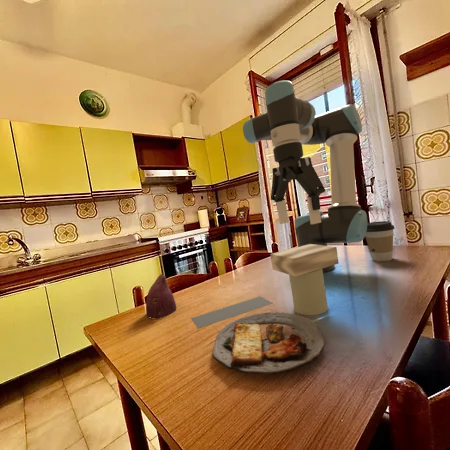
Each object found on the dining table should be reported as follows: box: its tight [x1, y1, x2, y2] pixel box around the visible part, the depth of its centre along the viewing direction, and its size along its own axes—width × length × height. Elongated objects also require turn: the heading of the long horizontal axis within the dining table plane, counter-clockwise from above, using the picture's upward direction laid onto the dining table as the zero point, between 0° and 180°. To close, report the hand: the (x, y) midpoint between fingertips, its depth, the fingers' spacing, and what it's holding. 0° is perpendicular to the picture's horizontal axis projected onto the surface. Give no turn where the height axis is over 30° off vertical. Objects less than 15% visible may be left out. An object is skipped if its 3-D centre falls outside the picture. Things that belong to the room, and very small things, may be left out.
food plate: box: [212, 311, 325, 375], centre depth 58 cm, size 25×23×4 cm
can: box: [288, 269, 329, 316], centre depth 71 cm, size 9×9×12 cm
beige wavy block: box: [269, 244, 340, 277], centre depth 71 cm, size 10×14×4 cm
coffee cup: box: [365, 220, 395, 262], centre depth 105 cm, size 11×11×15 cm
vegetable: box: [145, 272, 178, 319], centre depth 87 cm, size 10×10×15 cm
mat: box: [190, 295, 273, 329], centre depth 78 cm, size 8×24×1 cm, turn 111°
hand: (298, 223), depth 70 cm, fingers open, 13 cm apart
